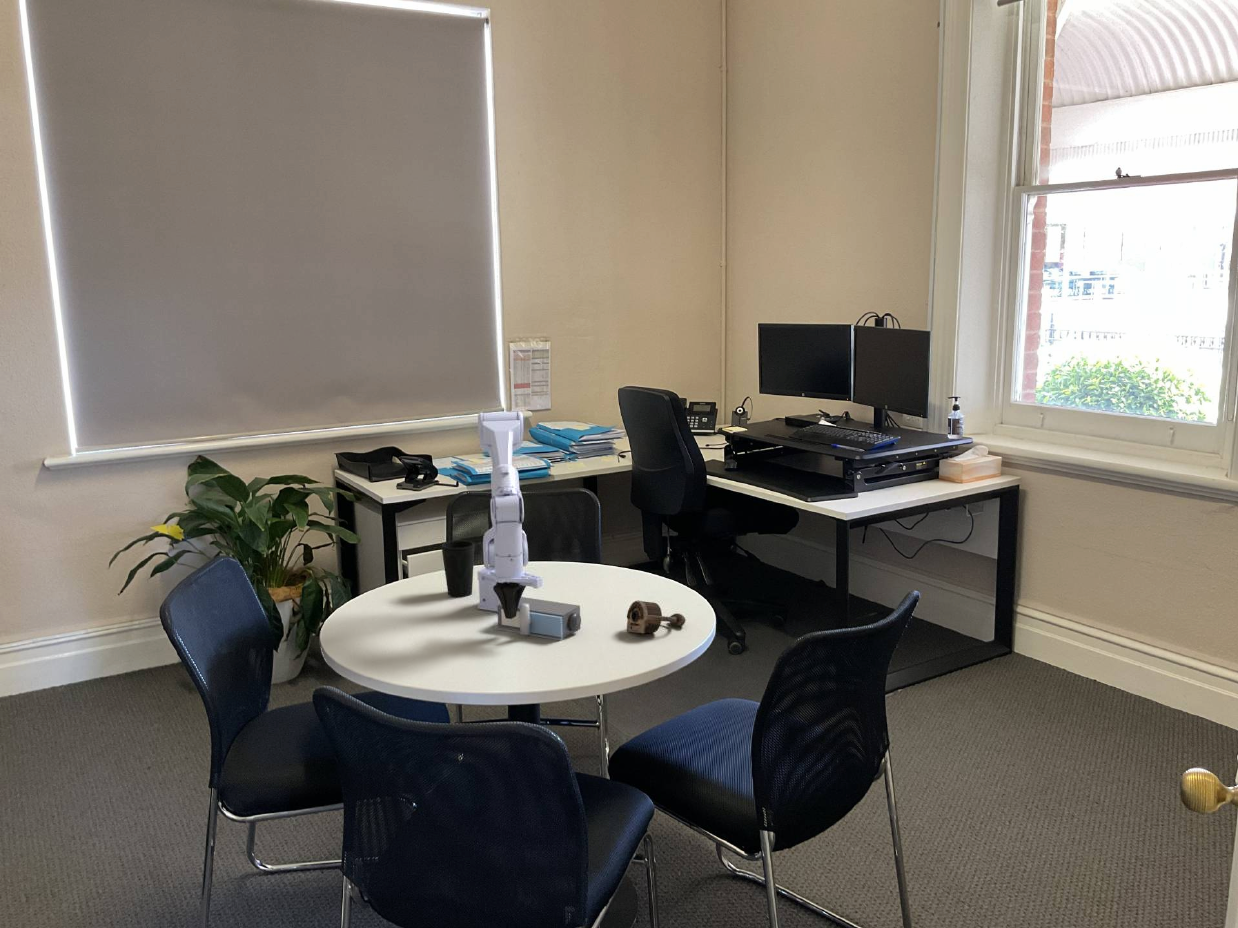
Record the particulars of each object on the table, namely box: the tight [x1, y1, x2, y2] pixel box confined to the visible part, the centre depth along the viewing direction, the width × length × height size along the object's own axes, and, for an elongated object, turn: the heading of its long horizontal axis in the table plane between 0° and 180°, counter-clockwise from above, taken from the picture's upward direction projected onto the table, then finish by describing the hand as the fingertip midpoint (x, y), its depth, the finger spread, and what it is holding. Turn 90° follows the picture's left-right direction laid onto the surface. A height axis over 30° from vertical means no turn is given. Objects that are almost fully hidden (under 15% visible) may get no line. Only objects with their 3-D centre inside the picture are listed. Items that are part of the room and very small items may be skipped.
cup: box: [440, 539, 476, 598], centre depth 232 cm, size 8×8×12 cm
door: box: [519, 603, 563, 637], centre depth 201 cm, size 9×3×6 cm, turn 63°
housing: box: [494, 596, 582, 641], centre depth 207 cm, size 17×8×5 cm, turn 63°
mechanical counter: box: [626, 600, 687, 634], centre depth 205 cm, size 7×13×10 cm
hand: (510, 617), depth 203 cm, fingers closed
